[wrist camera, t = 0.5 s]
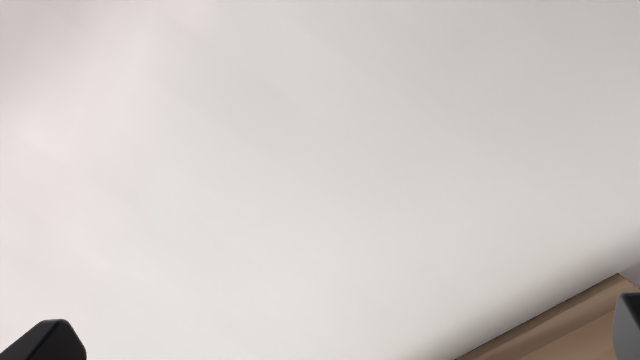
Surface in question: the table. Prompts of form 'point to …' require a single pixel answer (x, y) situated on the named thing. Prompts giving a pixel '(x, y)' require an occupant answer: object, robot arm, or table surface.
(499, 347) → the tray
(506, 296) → the table surface
